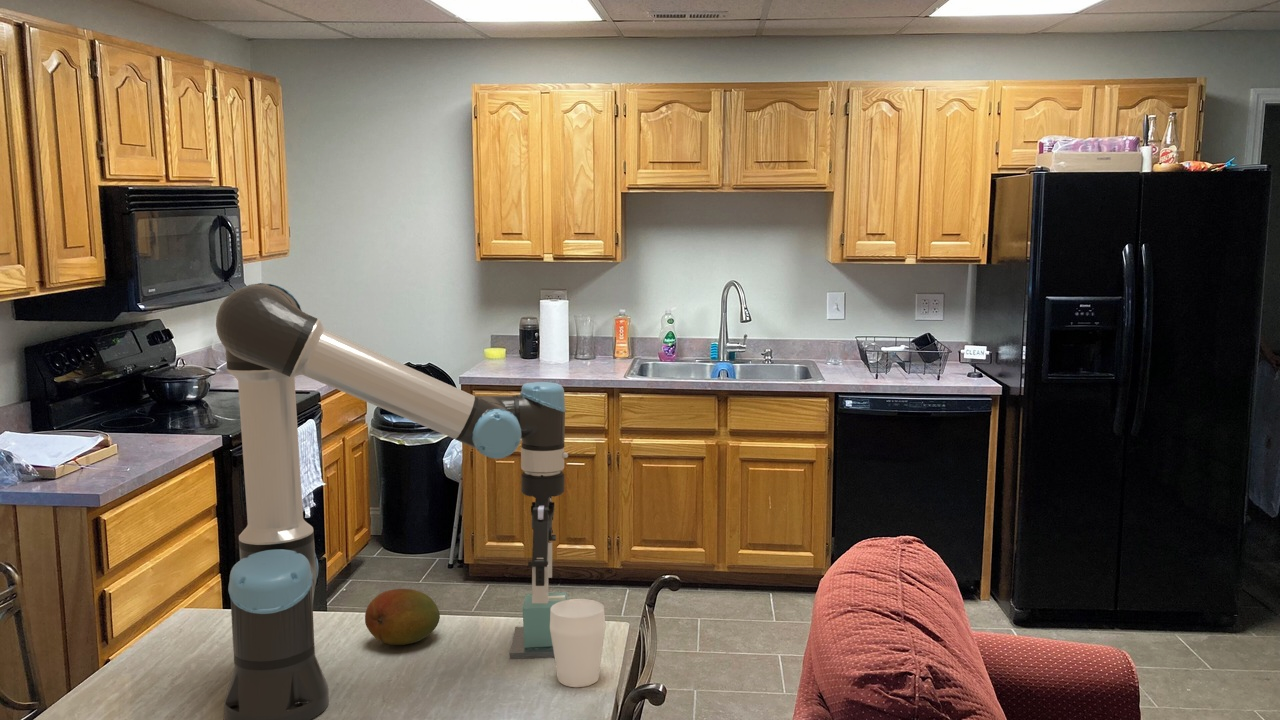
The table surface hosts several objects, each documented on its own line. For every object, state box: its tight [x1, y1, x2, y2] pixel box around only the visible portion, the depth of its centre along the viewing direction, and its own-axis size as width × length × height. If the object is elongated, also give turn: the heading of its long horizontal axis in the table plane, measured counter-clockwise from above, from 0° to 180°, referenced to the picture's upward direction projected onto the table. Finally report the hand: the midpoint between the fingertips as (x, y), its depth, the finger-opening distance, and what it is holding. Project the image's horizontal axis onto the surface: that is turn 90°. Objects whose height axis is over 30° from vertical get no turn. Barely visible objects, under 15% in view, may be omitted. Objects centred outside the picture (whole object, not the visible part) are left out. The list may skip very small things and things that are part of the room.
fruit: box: [364, 588, 441, 646], centre depth 181 cm, size 12×13×10 cm
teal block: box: [522, 591, 568, 648], centre depth 179 cm, size 7×7×8 cm
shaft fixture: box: [509, 626, 555, 660], centre depth 179 cm, size 12×12×6 cm
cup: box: [550, 598, 606, 688], centre depth 164 cm, size 9×9×12 cm
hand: (542, 589), depth 178 cm, fingers open, 13 cm apart
